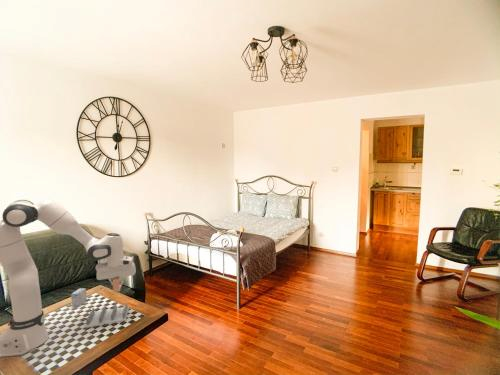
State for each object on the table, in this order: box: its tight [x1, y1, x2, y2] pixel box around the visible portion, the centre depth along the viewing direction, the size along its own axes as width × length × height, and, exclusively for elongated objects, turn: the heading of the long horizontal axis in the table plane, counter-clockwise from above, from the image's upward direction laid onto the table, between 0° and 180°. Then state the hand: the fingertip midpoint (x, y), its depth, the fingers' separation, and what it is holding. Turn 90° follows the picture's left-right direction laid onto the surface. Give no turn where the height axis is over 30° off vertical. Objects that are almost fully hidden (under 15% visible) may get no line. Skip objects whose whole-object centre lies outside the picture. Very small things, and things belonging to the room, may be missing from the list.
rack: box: [85, 302, 130, 329], centre depth 154 cm, size 20×14×4 cm
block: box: [112, 277, 123, 293], centre depth 154 cm, size 3×8×7 cm, turn 17°
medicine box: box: [70, 287, 88, 308], centre depth 170 cm, size 8×4×9 cm, turn 178°
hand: (117, 284), depth 154 cm, fingers closed on block, 3 cm apart
